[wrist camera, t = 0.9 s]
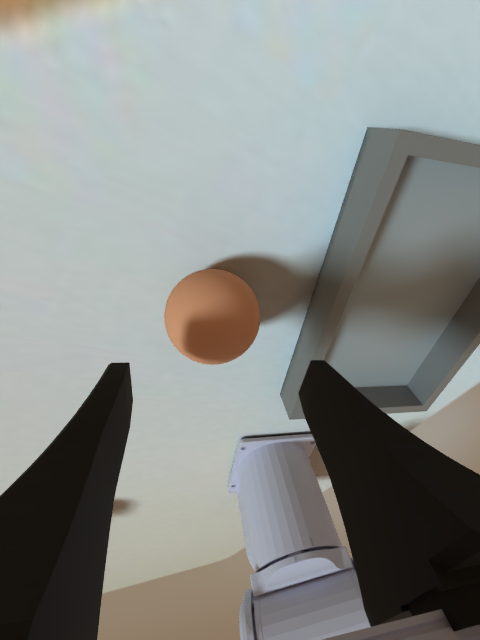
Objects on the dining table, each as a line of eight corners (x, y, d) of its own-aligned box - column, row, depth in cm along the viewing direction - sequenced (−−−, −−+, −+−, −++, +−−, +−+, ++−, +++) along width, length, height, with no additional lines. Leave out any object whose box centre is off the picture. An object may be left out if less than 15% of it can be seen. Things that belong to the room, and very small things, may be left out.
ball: (243, 327, 19) (260, 383, 15) (166, 326, 18) (162, 386, 14) (256, 256, 16) (281, 303, 12) (165, 250, 15) (161, 298, 11)
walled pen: (407, 388, 27) (426, 411, 25) (280, 393, 24) (289, 419, 22) (561, 164, 16) (614, 171, 14) (367, 127, 14) (400, 129, 12)
